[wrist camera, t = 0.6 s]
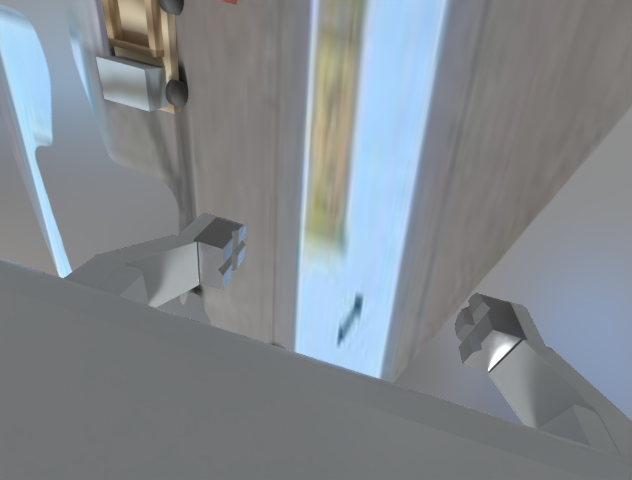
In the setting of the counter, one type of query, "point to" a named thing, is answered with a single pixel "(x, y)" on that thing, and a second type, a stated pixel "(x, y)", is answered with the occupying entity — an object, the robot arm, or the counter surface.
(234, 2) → the block
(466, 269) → the counter surface
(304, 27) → the counter surface
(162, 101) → the chassis
